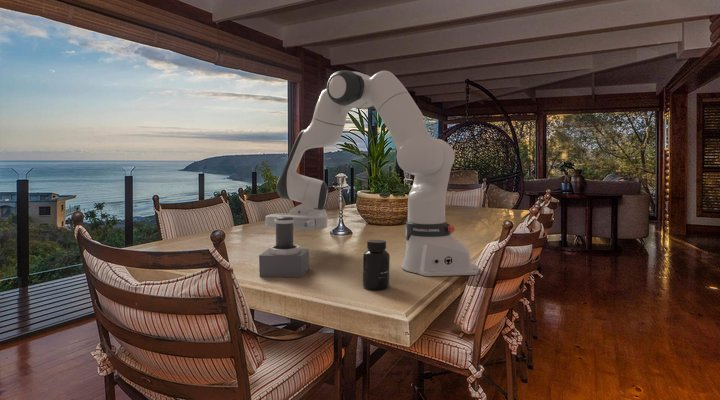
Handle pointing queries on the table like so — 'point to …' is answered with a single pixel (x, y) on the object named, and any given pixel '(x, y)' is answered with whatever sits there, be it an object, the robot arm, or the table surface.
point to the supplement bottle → (376, 266)
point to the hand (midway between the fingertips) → (291, 224)
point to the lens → (284, 232)
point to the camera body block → (284, 262)
